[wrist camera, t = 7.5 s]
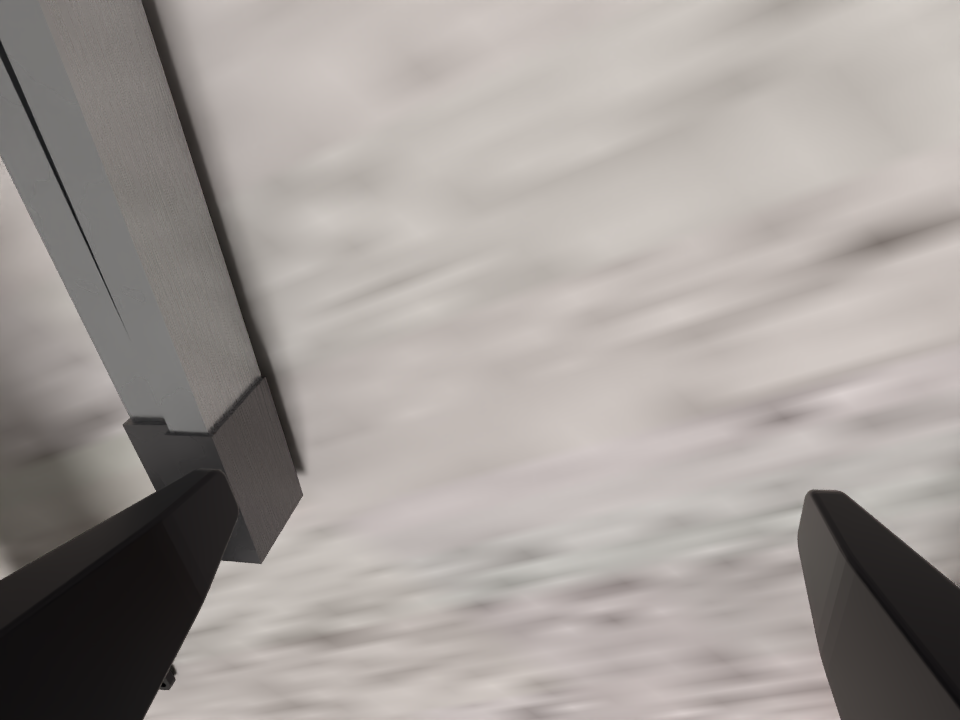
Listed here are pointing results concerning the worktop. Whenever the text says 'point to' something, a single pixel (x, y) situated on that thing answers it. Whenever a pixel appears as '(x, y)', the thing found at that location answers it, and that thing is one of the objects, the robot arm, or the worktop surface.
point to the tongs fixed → (80, 273)
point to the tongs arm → (155, 244)
